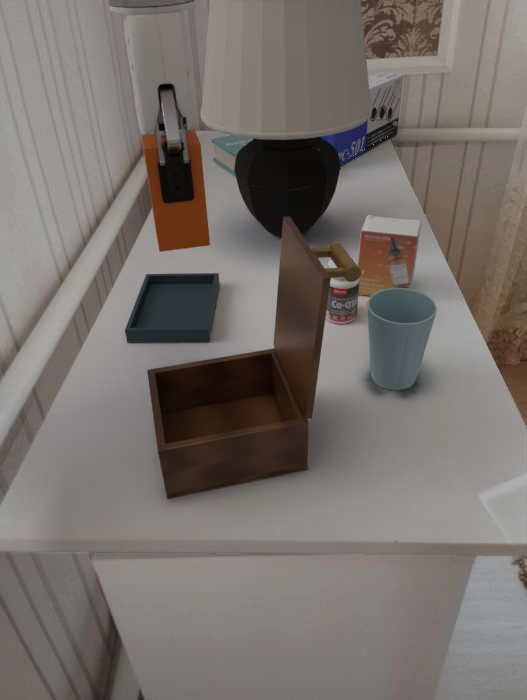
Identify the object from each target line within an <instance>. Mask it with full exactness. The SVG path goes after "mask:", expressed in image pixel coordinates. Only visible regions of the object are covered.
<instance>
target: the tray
mask: <svg viewBox="0 0 527 700" xmlns="http://www.w3.org/2000/svg"><path fill="white" fill-rule="evenodd" d="M220 285H221V284H220V274H219V272H206V273H205V272H202V273H201V272H199V273H198V272H197V273H195V272H194V273H192V272H191V273H146V275H145V276H144V279H143V281H142V284H141V287H140V290H139V292H138V294H137V297H136V300H135V303H134V305H133V308H132V310H131V313H130V316H129V318H128V321H127V324H126V326H125V329H124V334H125V338H126V342H127V344H139V343H140V344H143V343H144V344H145V343H147V344H149V343H151V344H152V343H157V344H158V343H159V344H160V343H162V344H163V343H165V344H166V343H169V344H170V343H171V344H173V343H210V341H211V335H212V329H213V325H214V324H213V323H214V318H215V312H216V308H217V302H218V296H219V291H220Z"/></svg>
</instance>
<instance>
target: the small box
mask: <svg viewBox="0 0 527 700" xmlns="http://www.w3.org/2000/svg"><path fill="white" fill-rule="evenodd" d="M421 228H422V220H421V219H406V218H396V217H395V218H394V217H383V216H376V215H371V214H370V215H369V214H367V215H366V217H365V220H364V222H363V225H362V227H361V229H360V235H359V237H360V239H359V249H358V250H359V251H358V258H357V262H358V267H359V268H360V269H361V275H360V277H359V292H358V295H360V296H369V297H371V296H372V295H373V294H374V293H376V292H378V291H381V290H384V289H389V288H407V289H413V283H414V276H415V275H414V274H415V270H416V269H415V268H416V263H417V262H416V261H417V257H418V256H417V254H418V247H419V242H420V235H421Z"/></svg>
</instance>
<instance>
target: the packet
mask: <svg viewBox="0 0 527 700" xmlns="http://www.w3.org/2000/svg"><path fill="white" fill-rule="evenodd" d="M185 131H186V130H185ZM185 135H186V142H187V150H188V158H189V160H190V161H191V170H192V179H193V188H194V199H193V200H192V201H184V202H175V203H164V202H163V199H162V192H161V185H160V178H159V171H158V164H157V163H160V159H159V152H158V145H157V138H156V135H155V134H154V133H152V134H148V135H144V134H142V135H140V137H141V138H140V139H141V143H142V150H143V156H144V163H145V169H146V176H147V183H148V189H149V195H150V202H151V203H150V204H151V209H152V216H153V222H154V228H155V236H156V241H157V247H158V252H159V253H161V252H169V251H177V250H185V249H193V248H201V247H208V246H211V241H210V239H211V238H210V230H209V217H208V209H207V208H208V207H207V197H206V187H205V178H204V177H205V176H204V175H205V174H204V167H203V166H204V165H203V155H202V154H203V153H202V146H201V145H202V144H201V141H200V139H199V137H198V135H197V132H196V129H193V130H192V129H191V130H190V129H189V130H188V131H186V133H185ZM162 140H163V143H164V141H166V137H162ZM164 154H165V152H164Z"/></svg>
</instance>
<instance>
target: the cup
mask: <svg viewBox="0 0 527 700" xmlns="http://www.w3.org/2000/svg"><path fill="white" fill-rule="evenodd" d="M366 307H367V308H366V309H367V324H368V325H367V326H368V348H369V349H368V350H369V369H370V370H369V371H370V379H371V380H372V382H374V384H375V385H377V386H378V387H380V388H382V389H385V390H387V391H388V390H389V391H403V390H407V389H410V388H411V387H412V386H414V384H415V383H416V381H417V378H418V375H419V371H420V369H421V365H422V361H423V358H424V354H425V352H426V347H427V345H428V341H429V338H430V334H431V331H432V329H433V325H434V321H435V318H436V315H437V311H438V306H437V303H436V302H435V300H434V299H433V298H432V297H430V296H429V295H427V294H426V293H424V292H422V291H419V290H416V289H413V288H411V289H407V288H389V289H384V290H381V291H378V292H376V293H374V294H373V295H372V296H369V298H368V300H367V302H366Z"/></svg>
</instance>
